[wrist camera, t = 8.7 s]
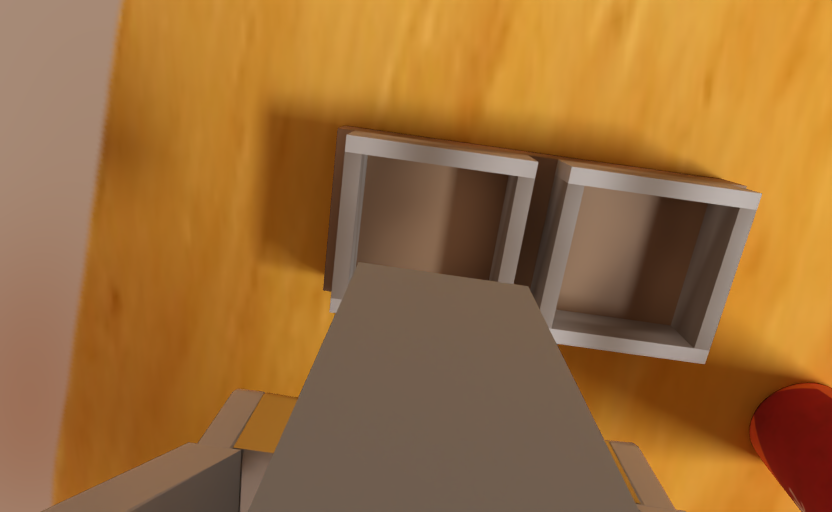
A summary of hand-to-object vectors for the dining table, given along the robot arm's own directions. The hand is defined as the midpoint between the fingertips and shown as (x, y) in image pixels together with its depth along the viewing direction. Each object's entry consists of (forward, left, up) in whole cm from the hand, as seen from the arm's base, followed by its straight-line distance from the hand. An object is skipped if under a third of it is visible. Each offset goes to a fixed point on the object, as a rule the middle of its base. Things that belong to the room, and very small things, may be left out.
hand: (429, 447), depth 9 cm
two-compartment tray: (-5, 0, -19) cm, 19 cm away
